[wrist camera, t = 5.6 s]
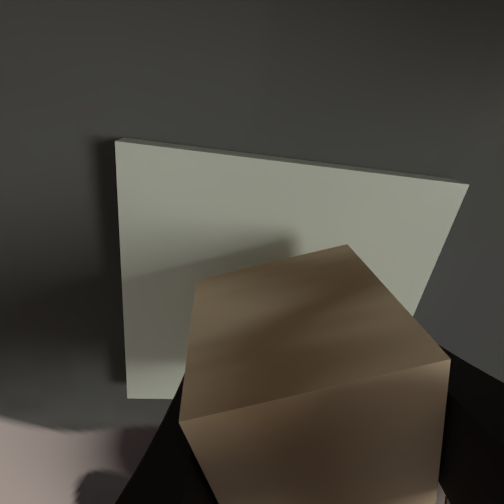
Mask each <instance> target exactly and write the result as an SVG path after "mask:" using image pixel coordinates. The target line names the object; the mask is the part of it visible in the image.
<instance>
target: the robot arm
mask: <svg viewBox="0 0 504 504" xmlns="http://www.w3.org/2000/svg"><path fill="white" fill-rule="evenodd" d="M439 346H440V345H439ZM440 348H441V349H442V350H443V351H444V352H445V353H446V354H447V355H448V356H449V358H450V359H451V363H450V372H449V382H448V391H447V401H446V411H445V420H444V430H443V439H442V449H441V458H440V468H439V478H438V481H439V483H440V485H441V487H442V489H443V491H444V493H445V495H446V497H447V498H448V500H449V502H450V504H504V383H503V382H501V381H499V380H497V379H495V378H494V377H492V376H490V375H488V374H487V373H485V372H483V371H481V370H479V369H478V368H476V367H474V366H472V365H471V364H469V363H467V362H466V361H464V360H462V359H460V358H459V357H457V356H456V355H454V354H452V353H451V352H449V351H448V350H446V349H444V348H443V347H441V346H440ZM184 375H185V373H184ZM183 383H184V376H183V378H182V380H181V383H180V385H179V387H178V389H177V391H176V394H175V396H174V398H173V400H172V402H171V404H170V406H169V408H168V410H167V413H166V415H165V417H164V419H163V421H162V423H161V425H160V427H159V429H158V431H157V432H156V434H155V436H154V438H153V440H152V442H151V444H150V445H149V447H148V449H147V451H146V453H145V455H144V457H143V458H142V460H141V462H140V463H139V465H138V467H137V469H136V470H135V472H134V474H133V475H132V477H131V479H130V480H129V482H128V483H127V485H126V487H125V488H124V490H123V491H122V493H121V495H120V496H119V498H118V499H117V501H116V502H115V504H219V503H218V501H217V499H216V497H215V495H214V493H213V491H212V489H211V487H210V485H209V483H208V481H207V479H206V477H205V475H204V473H203V471H202V469H201V467H200V465H199V463H198V460H197V458H196V456H195V454H194V452H193V450H192V448H191V446H190V444H189V442H188V440H187V438H186V436H185V434H184V432H183V430H182V428H181V426H180V424H179V415H180V407H181V399H182V391H183Z"/></svg>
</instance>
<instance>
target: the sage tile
mask: <svg viewBox="0 0 504 504" xmlns="http://www.w3.org/2000/svg"><path fill="white" fill-rule="evenodd" d="M115 155H116V175H117V195H118V216H119V236H120V257H121V277H122V297H123V318H124V338H125V358H126V379H127V398H140V399H173V398H174V396H175V394H176V391H177V389H178V387H179V385H180V383H181V380H182V378H183V376H184V373H185V366H186V358H187V350H188V342H189V334H190V326H191V317H192V309H193V301H194V293H195V285H196V279H200V278H205V277H209V276H213V275H218V274H222V273H226V272H230V271H235V270H239V269H243V268H247V267H252V266H256V265H260V264H264V263H269V262H273V261H277V260H282V259H286V258H290V257H294V256H299V255H303V254H307V253H311V252H316V251H320V250H324V249H328V248H333V247H337V246H341V245H346V244H348V245H349V246H350V248H351V249H352V250H353V251H354V252H355V253H356V254H357V255H358V256H359V258H360V259H361V260H362V261H363V262H364V263H365V264H366V265H367V266H368V268H369V269H370V270H371V271H372V272H373V273H374V274H375V275H376V276H377V278H378V279H379V280H380V281H381V282H382V283H383V284H384V285H385V286H386V288H387V289H388V290H389V291H390V292H391V293H392V294H393V295H394V296H395V298H396V299H397V300H398V301H399V302H400V303H401V304H402V305H403V306H404V308H405V309H406V310H407V311H408V312H409V313H410V314H411V315H412V316H413V315H414V312H415V310H416V308H417V305H418V303H419V301H420V298H421V296H422V294H423V291H424V289H425V287H426V284H427V282H428V280H429V277H430V275H431V273H432V270H433V268H434V266H435V263H436V261H437V259H438V256H439V254H440V252H441V249H442V247H443V245H444V242H445V240H446V238H447V235H448V233H449V231H450V228H451V226H452V224H453V221H454V219H455V217H456V214H457V212H458V210H459V207H460V205H461V203H462V200H463V198H464V196H465V193H466V191H467V189H468V187H469V184H466V183H463V182H460V181H457V180H454V179H451V178H443V177H435V176H427V175H419V174H411V173H403V172H395V171H387V170H379V169H371V168H363V167H355V166H347V165H339V164H331V163H323V162H315V161H307V160H299V159H291V158H283V157H275V156H267V155H259V154H251V153H243V152H236V151H228V150H220V149H212V148H204V147H196V146H188V145H180V144H172V143H164V142H156V141H148V140H140V139H132V138H121V139H119V140H116V141H115Z"/></svg>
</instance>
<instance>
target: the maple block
mask: <svg viewBox="0 0 504 504" xmlns="http://www.w3.org/2000/svg"><path fill="white" fill-rule="evenodd" d="M450 363H451V359H450V358H449V356H448V355H447V354H446V353H445V352H444V351H443V350H442V349H441V348H440V346H439V345H438V344H437V343H436V342H435V341H434V340H433V339H432V338H431V336H430V335H429V334H428V333H427V332H426V331H425V330H424V329H423V328H422V326H421V325H420V324H419V323H418V322H417V321H416V320H415V319H414V318H413V316H412V315H411V314H410V313H409V312H408V311H407V310H406V309H405V308H404V306H403V305H402V304H401V303H400V302H399V301H398V300H397V299H396V298H395V296H394V295H393V294H392V293H391V292H390V291H389V290H388V289H387V288H386V286H385V285H384V284H383V283H382V282H381V281H380V280H379V279H378V278H377V276H376V275H375V274H374V273H373V272H372V271H371V270H370V269H369V268H368V266H367V265H366V264H365V263H364V262H363V261H362V260H361V259H360V258H359V256H358V255H357V254H356V253H355V252H354V251H353V250H352V249H351V248H350V246H349V245H348V244H346V245H341V246H337V247H333V248H328V249H324V250H320V251H316V252H311V253H307V254H303V255H299V256H294V257H290V258H286V259H282V260H277V261H273V262H269V263H264V264H260V265H256V266H252V267H247V268H243V269H239V270H235V271H230V272H226V273H222V274H218V275H213V276H209V277H205V278H200V279H196V285H195V293H194V301H193V309H192V317H191V326H190V334H189V342H188V350H187V358H186V366H185V375H184V383H183V391H182V399H181V407H180V415H179V424H180V426H181V428H182V430H183V432H184V434H185V436H186V438H187V440H188V442H189V444H190V446H191V448H192V450H193V452H194V454H195V456H196V458H197V460H198V463H199V465H200V467H201V469H202V471H203V473H204V475H205V477H206V479H207V481H208V483H209V485H210V487H211V489H212V491H213V493H214V495H215V497H216V499H217V501H218V503H219V504H435V503H436V497H437V487H438V478H439V468H440V458H441V449H442V439H443V430H444V420H445V411H446V401H447V391H448V382H449V372H450Z"/></svg>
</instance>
